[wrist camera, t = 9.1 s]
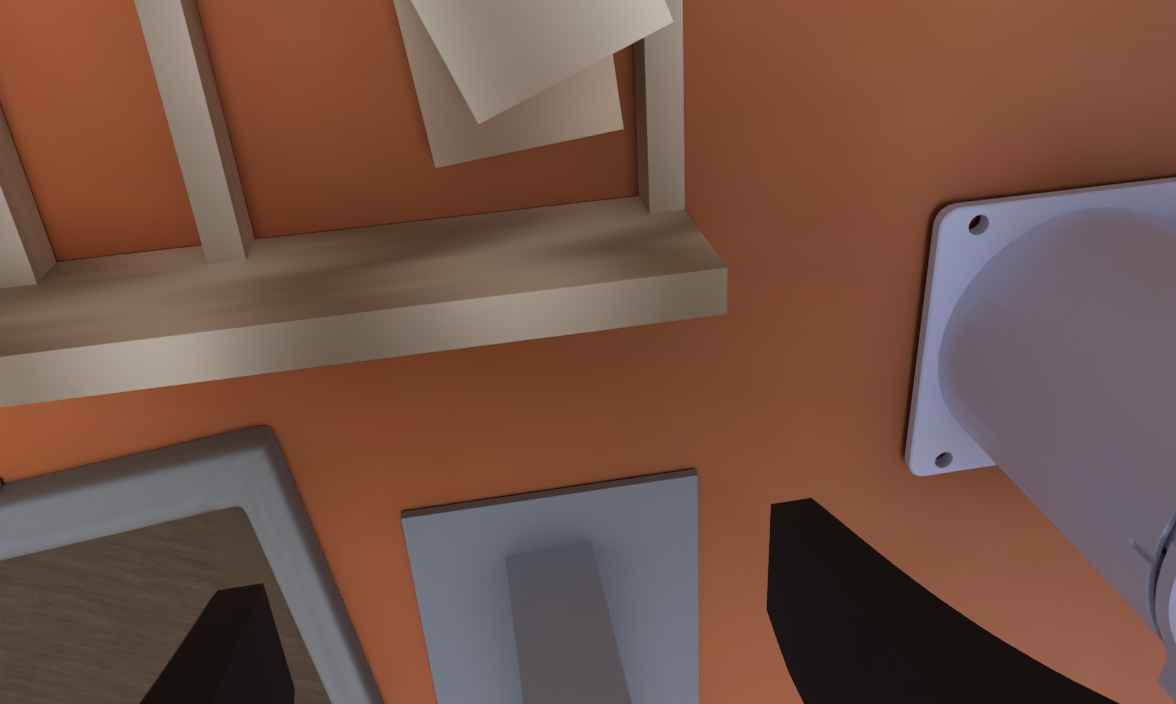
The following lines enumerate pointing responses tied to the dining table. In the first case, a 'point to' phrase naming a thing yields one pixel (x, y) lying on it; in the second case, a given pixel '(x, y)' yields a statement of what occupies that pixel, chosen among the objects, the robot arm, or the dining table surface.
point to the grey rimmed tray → (163, 572)
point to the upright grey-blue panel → (564, 628)
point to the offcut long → (531, 123)
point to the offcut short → (530, 42)
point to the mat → (548, 520)
